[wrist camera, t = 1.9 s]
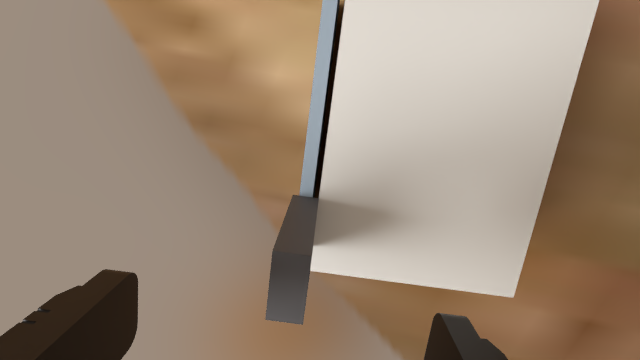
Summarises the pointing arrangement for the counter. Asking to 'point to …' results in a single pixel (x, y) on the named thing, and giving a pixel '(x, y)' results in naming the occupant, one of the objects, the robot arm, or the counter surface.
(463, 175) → the carton
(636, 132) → the counter surface
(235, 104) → the counter surface
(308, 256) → the front flap
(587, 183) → the counter surface
